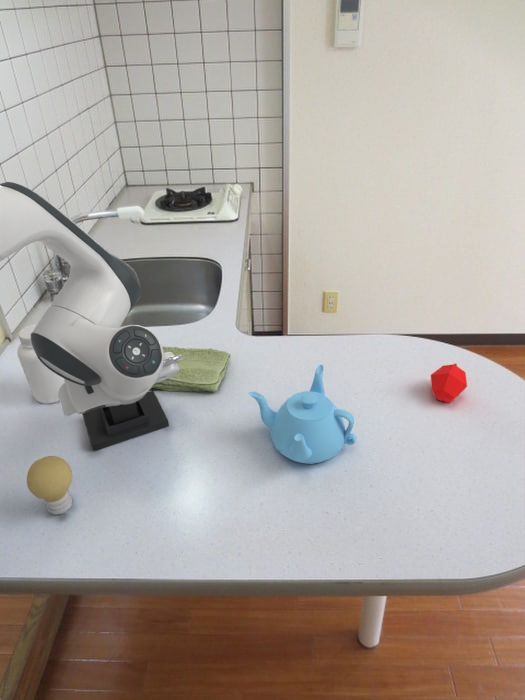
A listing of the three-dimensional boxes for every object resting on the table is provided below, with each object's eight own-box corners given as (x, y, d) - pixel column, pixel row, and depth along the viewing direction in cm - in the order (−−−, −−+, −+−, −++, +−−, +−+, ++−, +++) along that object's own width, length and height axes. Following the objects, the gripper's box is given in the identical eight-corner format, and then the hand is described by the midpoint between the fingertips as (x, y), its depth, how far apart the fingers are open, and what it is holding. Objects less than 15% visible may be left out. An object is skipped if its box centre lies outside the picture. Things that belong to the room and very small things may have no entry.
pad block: (114, 423, 96) (104, 385, 90) (109, 409, 99) (99, 371, 94) (138, 416, 97) (129, 377, 92) (132, 402, 100) (123, 364, 95)
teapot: (366, 453, 90) (371, 408, 84) (291, 488, 85) (291, 442, 79) (319, 405, 101) (321, 362, 95) (250, 433, 95) (247, 389, 90)
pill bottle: (34, 385, 110) (12, 324, 101) (74, 376, 112) (55, 316, 103) (32, 408, 103) (8, 346, 95) (74, 399, 105) (55, 337, 97)
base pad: (93, 451, 93) (89, 439, 91) (83, 418, 101) (79, 406, 99) (169, 426, 98) (166, 414, 96) (154, 395, 105) (151, 384, 104)
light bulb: (38, 528, 80) (18, 484, 74) (41, 496, 85) (23, 452, 80) (81, 518, 81) (65, 474, 76) (82, 487, 86) (67, 443, 81)
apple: (458, 392, 95) (472, 358, 98) (421, 384, 99) (436, 352, 102) (463, 413, 99) (476, 380, 103) (428, 405, 103) (442, 373, 107)
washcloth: (219, 396, 104) (218, 383, 103) (135, 390, 107) (132, 378, 105) (232, 358, 115) (231, 346, 113) (155, 353, 118) (153, 341, 116)
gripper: (177, 337, 88) (164, 356, 100) (53, 378, 79) (55, 394, 92) (192, 371, 87) (176, 386, 99) (67, 417, 79) (68, 427, 91)
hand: (117, 390), depth 96 cm, fingers closed on pad block, 4 cm apart
